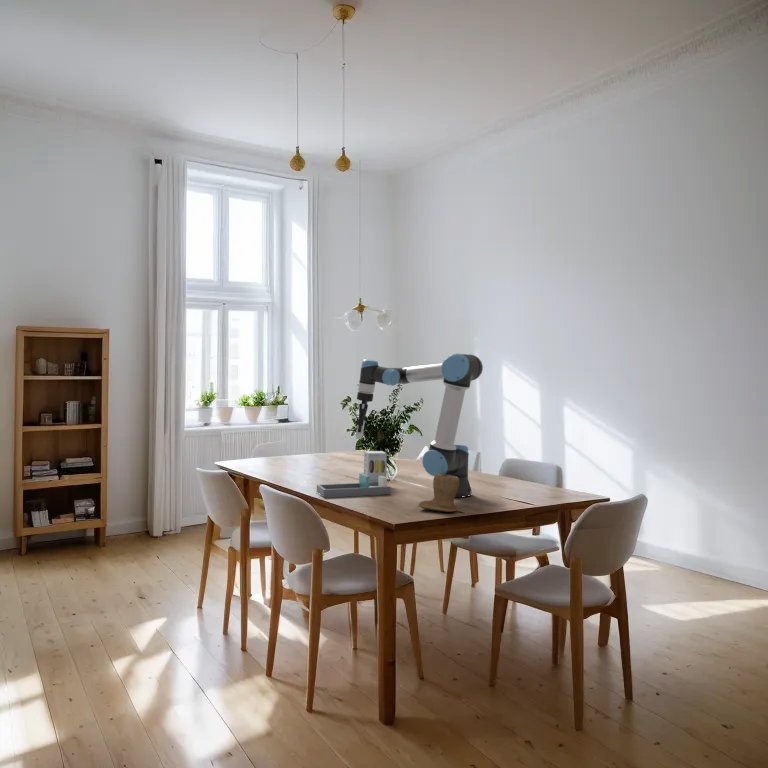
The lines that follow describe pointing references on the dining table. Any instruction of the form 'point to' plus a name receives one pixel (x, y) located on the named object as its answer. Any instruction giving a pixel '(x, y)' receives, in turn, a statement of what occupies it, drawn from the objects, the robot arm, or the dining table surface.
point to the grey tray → (351, 490)
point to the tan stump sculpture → (442, 494)
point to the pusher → (365, 481)
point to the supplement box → (375, 464)
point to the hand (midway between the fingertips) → (359, 436)
